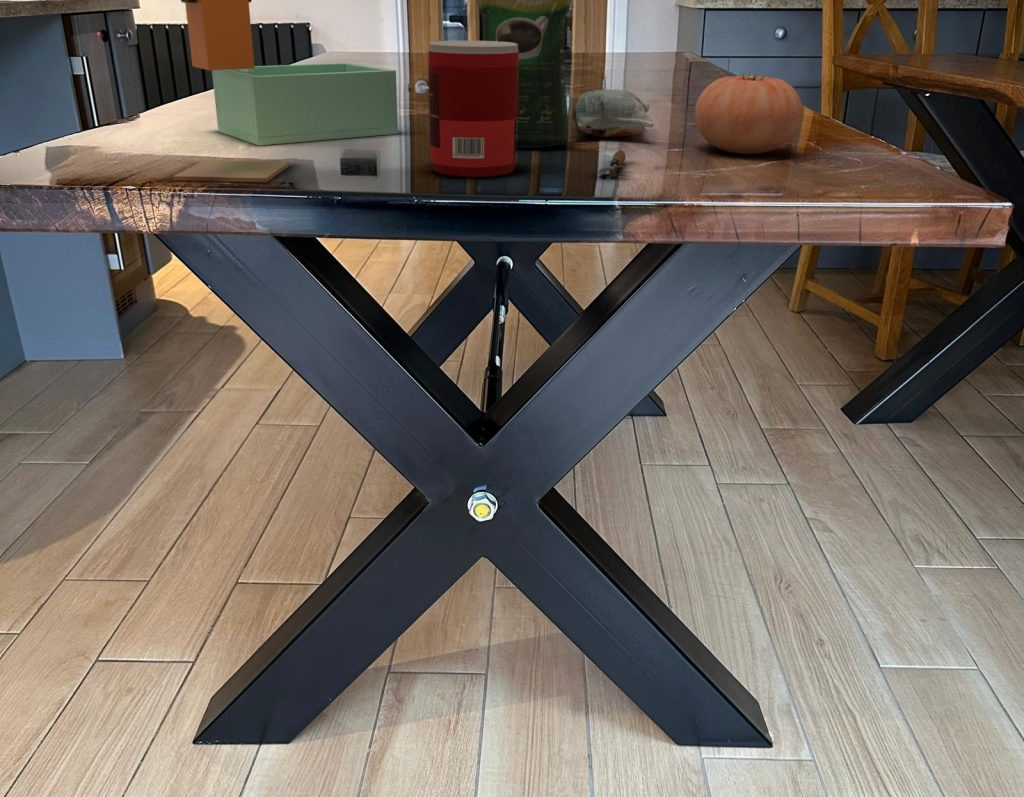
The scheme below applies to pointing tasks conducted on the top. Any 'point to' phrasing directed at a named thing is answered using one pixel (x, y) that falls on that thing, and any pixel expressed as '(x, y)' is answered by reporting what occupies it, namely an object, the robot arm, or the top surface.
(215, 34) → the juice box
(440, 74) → the canned food
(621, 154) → the can opener
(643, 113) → the packaged food
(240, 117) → the box
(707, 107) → the orange pumpkin
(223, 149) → the top surface
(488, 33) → the green coffee bag
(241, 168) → the coaster
